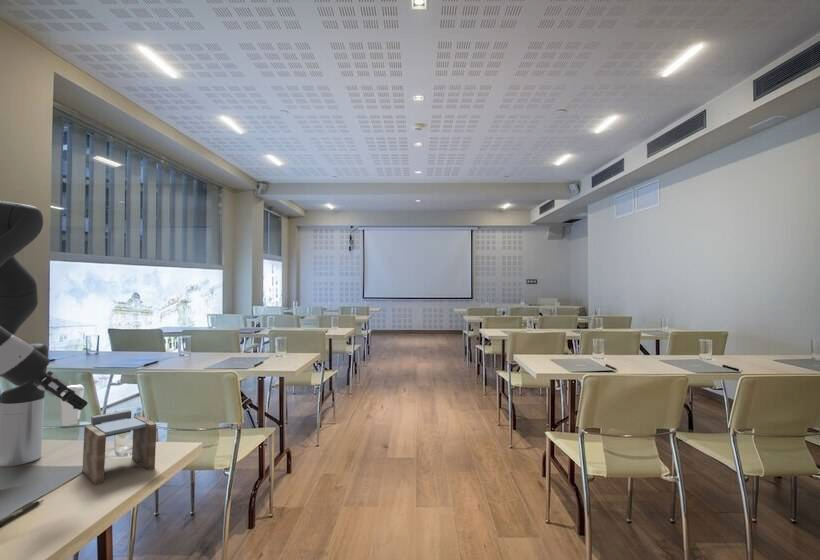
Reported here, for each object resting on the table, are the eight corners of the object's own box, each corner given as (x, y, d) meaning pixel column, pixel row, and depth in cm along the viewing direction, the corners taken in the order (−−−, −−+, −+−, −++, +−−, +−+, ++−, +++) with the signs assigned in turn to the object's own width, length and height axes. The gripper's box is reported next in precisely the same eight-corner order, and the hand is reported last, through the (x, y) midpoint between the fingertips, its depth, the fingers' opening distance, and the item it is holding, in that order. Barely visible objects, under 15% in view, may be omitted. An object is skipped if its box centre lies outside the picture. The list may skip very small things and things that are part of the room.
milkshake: (78, 419, 99) (81, 378, 100) (84, 423, 96) (87, 380, 97) (54, 423, 96) (57, 381, 96) (59, 427, 92) (62, 383, 93)
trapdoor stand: (82, 470, 108) (84, 425, 109) (137, 456, 118) (139, 415, 119) (96, 484, 100) (98, 435, 101) (154, 468, 110) (156, 423, 111)
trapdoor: (89, 438, 111) (90, 416, 112) (129, 430, 119) (129, 409, 119) (104, 449, 103) (105, 426, 103) (145, 440, 110) (146, 418, 111)
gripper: (38, 349, 86) (104, 396, 95) (26, 344, 95) (87, 387, 104) (2, 378, 82) (74, 424, 91) (-7, 369, 91) (59, 412, 100)
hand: (81, 404), depth 97 cm, fingers closed on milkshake, 4 cm apart
